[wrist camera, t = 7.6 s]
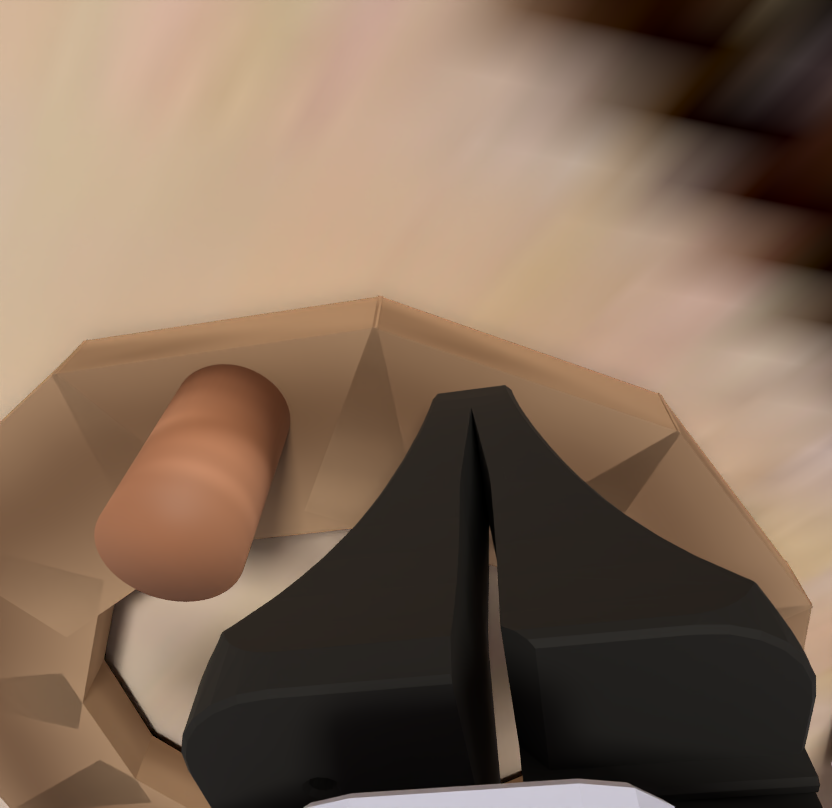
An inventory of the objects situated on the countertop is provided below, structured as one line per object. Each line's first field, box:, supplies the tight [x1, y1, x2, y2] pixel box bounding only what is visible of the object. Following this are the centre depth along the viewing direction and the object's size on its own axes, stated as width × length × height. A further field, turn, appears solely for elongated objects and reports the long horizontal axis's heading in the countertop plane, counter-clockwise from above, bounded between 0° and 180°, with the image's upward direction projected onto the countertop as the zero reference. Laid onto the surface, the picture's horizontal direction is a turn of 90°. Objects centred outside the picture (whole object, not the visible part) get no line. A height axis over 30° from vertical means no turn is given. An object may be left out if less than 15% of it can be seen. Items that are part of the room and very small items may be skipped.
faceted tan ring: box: [0, 296, 812, 808], centre depth 19 cm, size 25×25×6 cm
